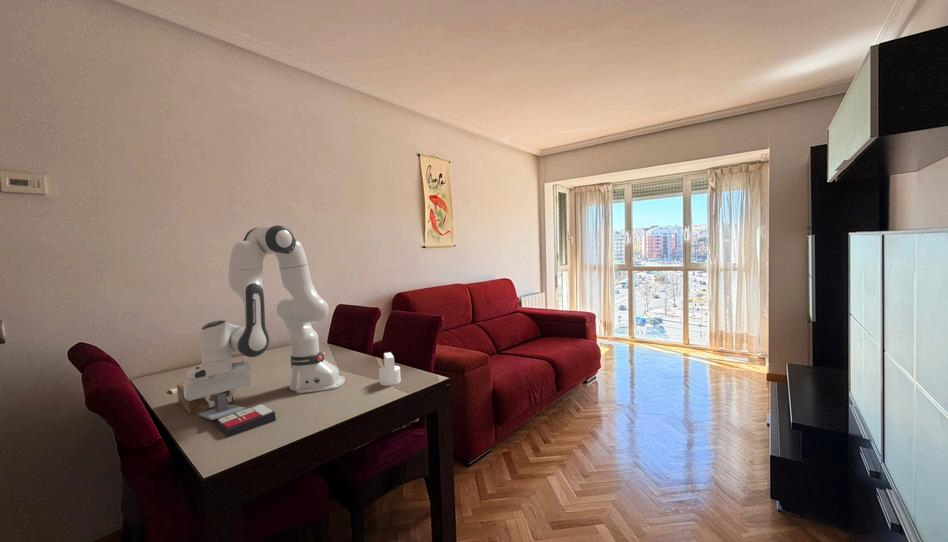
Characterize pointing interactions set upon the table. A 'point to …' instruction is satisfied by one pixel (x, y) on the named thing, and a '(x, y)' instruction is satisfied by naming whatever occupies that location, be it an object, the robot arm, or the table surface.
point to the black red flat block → (245, 420)
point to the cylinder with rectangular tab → (389, 371)
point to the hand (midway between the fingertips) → (220, 404)
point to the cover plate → (220, 414)
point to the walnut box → (196, 402)
